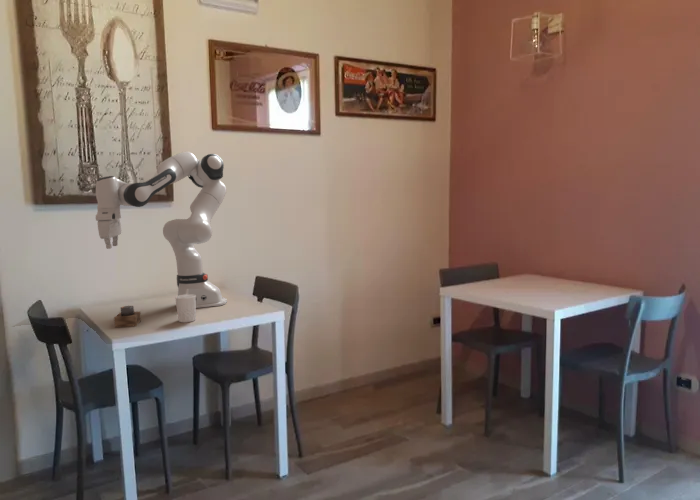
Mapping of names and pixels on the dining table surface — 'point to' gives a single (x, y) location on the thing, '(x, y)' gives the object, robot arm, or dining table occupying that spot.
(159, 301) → the dining table surface
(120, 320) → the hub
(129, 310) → the knob
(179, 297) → the white cup
